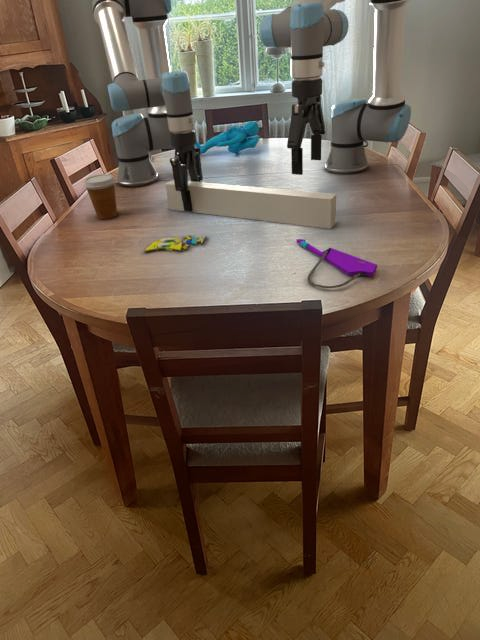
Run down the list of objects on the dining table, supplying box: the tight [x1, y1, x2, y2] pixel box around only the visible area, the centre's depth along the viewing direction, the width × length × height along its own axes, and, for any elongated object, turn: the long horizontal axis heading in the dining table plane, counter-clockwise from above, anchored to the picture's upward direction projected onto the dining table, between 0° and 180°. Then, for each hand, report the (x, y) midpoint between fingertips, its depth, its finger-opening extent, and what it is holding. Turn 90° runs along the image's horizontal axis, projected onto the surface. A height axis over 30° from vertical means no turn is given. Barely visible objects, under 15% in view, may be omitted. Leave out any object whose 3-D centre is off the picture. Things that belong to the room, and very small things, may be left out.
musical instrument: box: [295, 238, 378, 289], centre depth 112 cm, size 24×2×20 cm
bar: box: [164, 179, 337, 230], centre depth 142 cm, size 54×4×8 cm, turn 62°
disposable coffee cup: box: [83, 173, 118, 220], centre depth 151 cm, size 10×10×12 cm
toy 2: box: [194, 120, 261, 155], centre depth 207 cm, size 17×11×30 cm
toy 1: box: [144, 234, 207, 254], centre depth 130 cm, size 10×1×15 cm
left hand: (192, 207), depth 153 cm, fingers closed on bar, 4 cm apart
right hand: (307, 166), depth 128 cm, fingers open, 13 cm apart
